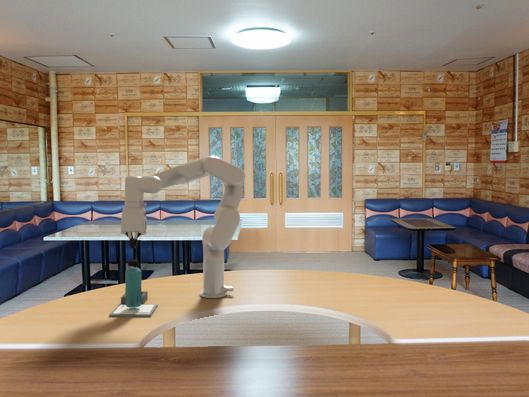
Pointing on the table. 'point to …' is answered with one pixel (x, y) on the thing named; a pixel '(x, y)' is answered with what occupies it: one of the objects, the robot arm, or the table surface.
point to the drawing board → (133, 311)
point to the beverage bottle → (133, 285)
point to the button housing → (144, 295)
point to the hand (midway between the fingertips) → (133, 247)
